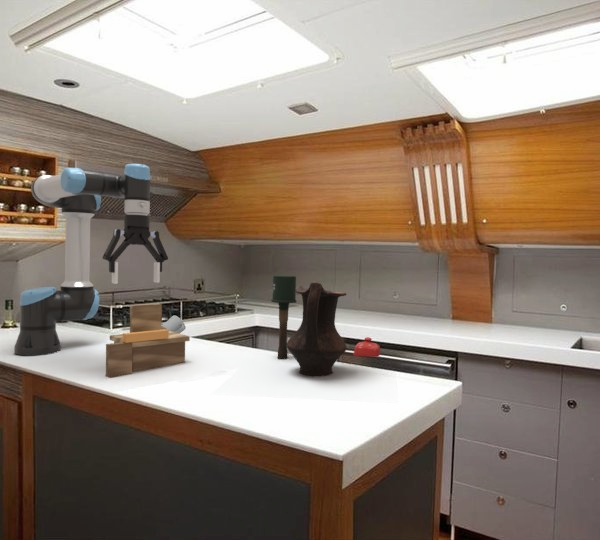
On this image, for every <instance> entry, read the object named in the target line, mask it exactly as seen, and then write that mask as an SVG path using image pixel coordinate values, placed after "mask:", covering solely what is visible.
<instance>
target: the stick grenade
mask: <svg viewBox="0 0 600 540" xmlns="http://www.w3.org/2000/svg"><path fill="white" fill-rule="evenodd" d="M296 286H297V277H296V275H287V274H281V275H279V274H275V275H273V276H272V299H271V300H270V302H271V303H274V304H275V303H277V304H278V321H279V328H278V329H279V332H278V347H277V348H278V350H277V358H278V359H277V360H287V358H288V359H289V357H288V348H287V342H288V321H289V307H290V304H294V303H295V304H296V303H297V300H296V299H297V298H296V295H297V293H296V292H295V290H296V289H297V287H296Z"/></svg>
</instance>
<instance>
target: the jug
mask: <svg viewBox="0 0 600 540" xmlns="http://www.w3.org/2000/svg"><path fill="white" fill-rule="evenodd" d="M295 292H296V294H299V295H301V298H302V320H301V323H300V325H299V328H297V330H296V331H295V332H294V333H293V334H292V336H290V338H289V339H288V340H287V351H288V352H290V353H291V355H292V356H293V358H294V359H295V360H296V362H297V363H298V366H300V368H299V369H300V370H299V371H298V373H299V374H300V375H302V376H304V377H305V376H306V377H310V378H316V377H317V378H319V377H320V378H321V377H329V376H331V375H332V374H333V373H334V372H333V366H334V365H335V363H336V362H337V361H338V360H339V358H340V357H341V356H343V354H344V353H346V351H347V344H346V342H345V341H344V338H343V337H342V336H341V335H340V333H339V332H338V330H337V328H336V324H335V323H336V322H335V321H336V313H337V312H336V311H337V306H338V303H339V302H338V301H339V298H340V297H344V296H347V292H343V291H341V292H340V291H331V290H325V288H324V287H323V285H322V284H321V282H318V281H312V282H311V283H310V284H309V287H308V288H296V290H295Z"/></svg>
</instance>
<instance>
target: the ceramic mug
mask: <svg viewBox="0 0 600 540" xmlns="http://www.w3.org/2000/svg"><path fill="white" fill-rule="evenodd" d="M186 328H187V327H186V324H185V322H184V321H183V320H182V319H181V318H180V317H179V316H177V315H172V316H170V317H169V319H168V320H166V321H165V322H164V323H163V324H162V330H163V329H166V330H169V331H172V332H175V333H179V334H182V333H183V332H184V331H185V330H186Z"/></svg>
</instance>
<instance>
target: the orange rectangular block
mask: <svg viewBox="0 0 600 540" xmlns="http://www.w3.org/2000/svg"><path fill="white" fill-rule="evenodd" d="M122 334H123V340H122V342H125V343H129V342H138V341H148V340H157V339H166V338H169V330H166V329H163V330H153V331H142V332H132V333H130V332H125V333H124V332H123V333H122Z"/></svg>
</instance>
